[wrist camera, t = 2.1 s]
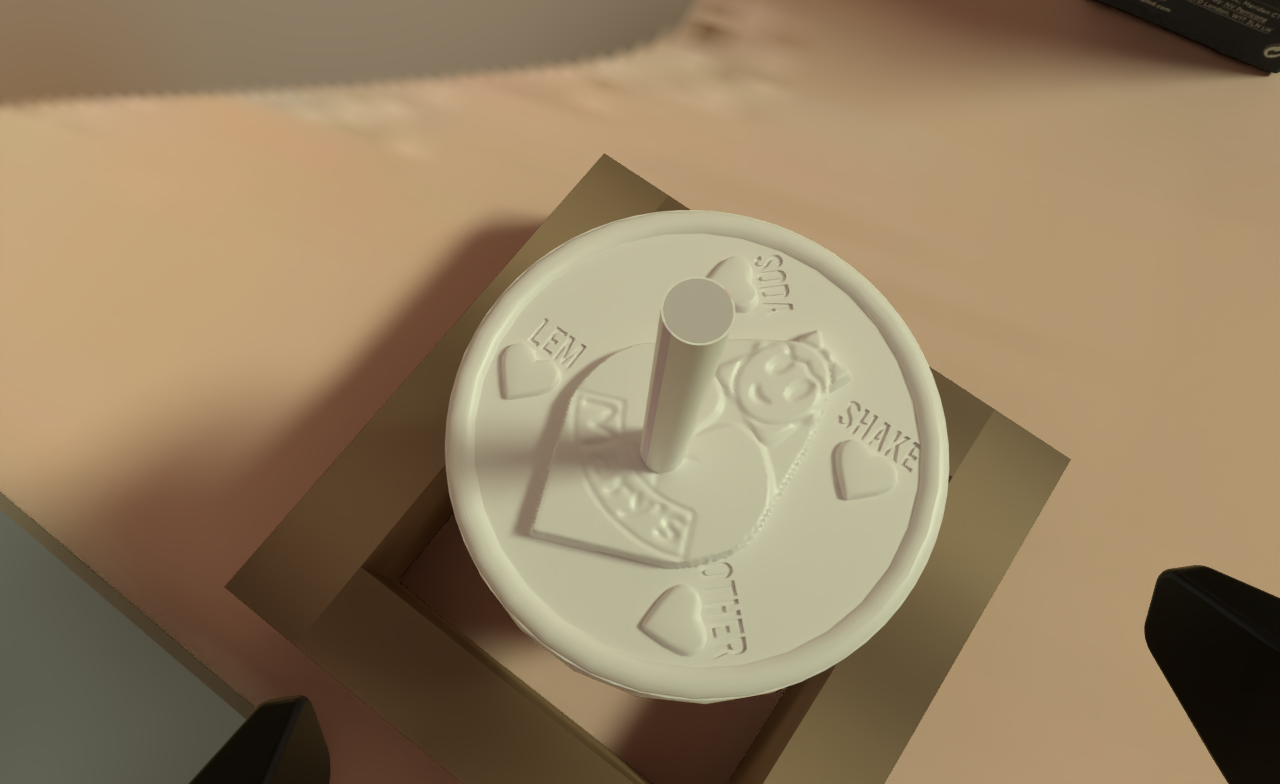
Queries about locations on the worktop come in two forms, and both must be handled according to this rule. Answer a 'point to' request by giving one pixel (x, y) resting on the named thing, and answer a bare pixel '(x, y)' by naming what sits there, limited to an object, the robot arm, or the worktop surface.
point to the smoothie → (696, 456)
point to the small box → (1219, 25)
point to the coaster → (95, 677)
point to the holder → (506, 706)
